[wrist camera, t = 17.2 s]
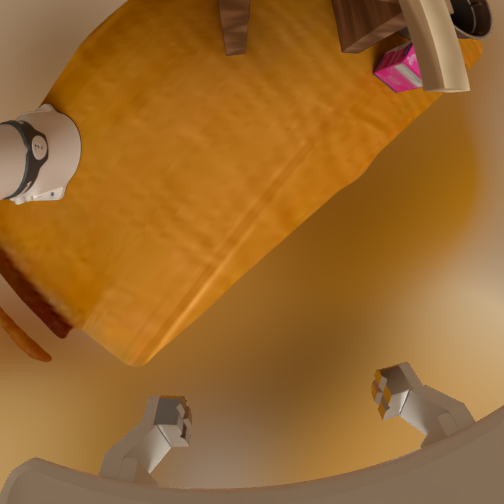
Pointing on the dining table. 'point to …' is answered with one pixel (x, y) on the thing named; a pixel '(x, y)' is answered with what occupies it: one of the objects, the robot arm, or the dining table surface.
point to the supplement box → (400, 68)
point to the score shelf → (347, 17)
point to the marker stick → (435, 45)
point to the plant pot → (467, 20)
